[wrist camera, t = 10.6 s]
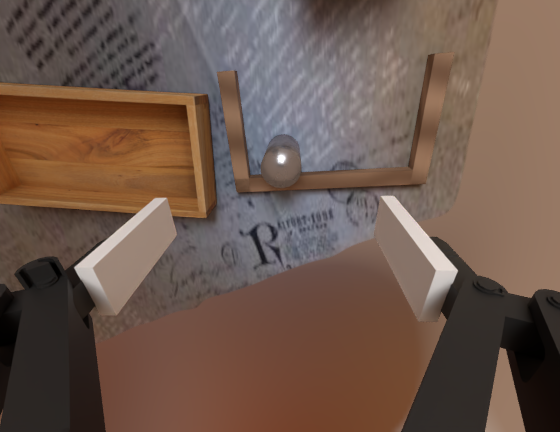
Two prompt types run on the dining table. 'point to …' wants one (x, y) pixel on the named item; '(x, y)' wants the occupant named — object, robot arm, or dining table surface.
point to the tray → (105, 149)
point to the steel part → (281, 162)
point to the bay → (412, 174)
